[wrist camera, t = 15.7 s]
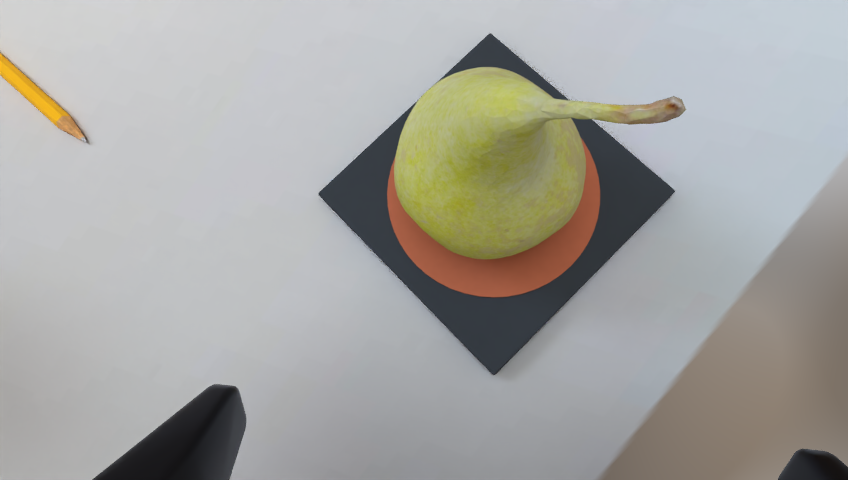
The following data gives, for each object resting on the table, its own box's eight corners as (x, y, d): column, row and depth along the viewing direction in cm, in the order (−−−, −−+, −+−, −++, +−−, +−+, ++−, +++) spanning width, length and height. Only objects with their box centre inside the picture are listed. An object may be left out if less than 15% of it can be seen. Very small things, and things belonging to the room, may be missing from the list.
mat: (670, 194, 23) (677, 190, 22) (493, 374, 22) (493, 376, 21) (489, 39, 25) (490, 30, 24) (320, 197, 24) (316, 192, 23)
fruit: (444, 99, 24) (425, -142, 12) (602, 162, 23) (749, -37, 11) (380, 230, 23) (290, 104, 11) (541, 303, 22) (632, 250, 10)
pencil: (-64, -6, 28) (-77, -14, 28) (97, 138, 26) (87, 133, 25) (-75, 5, 28) (-88, -3, 27) (86, 151, 26) (76, 145, 25)
